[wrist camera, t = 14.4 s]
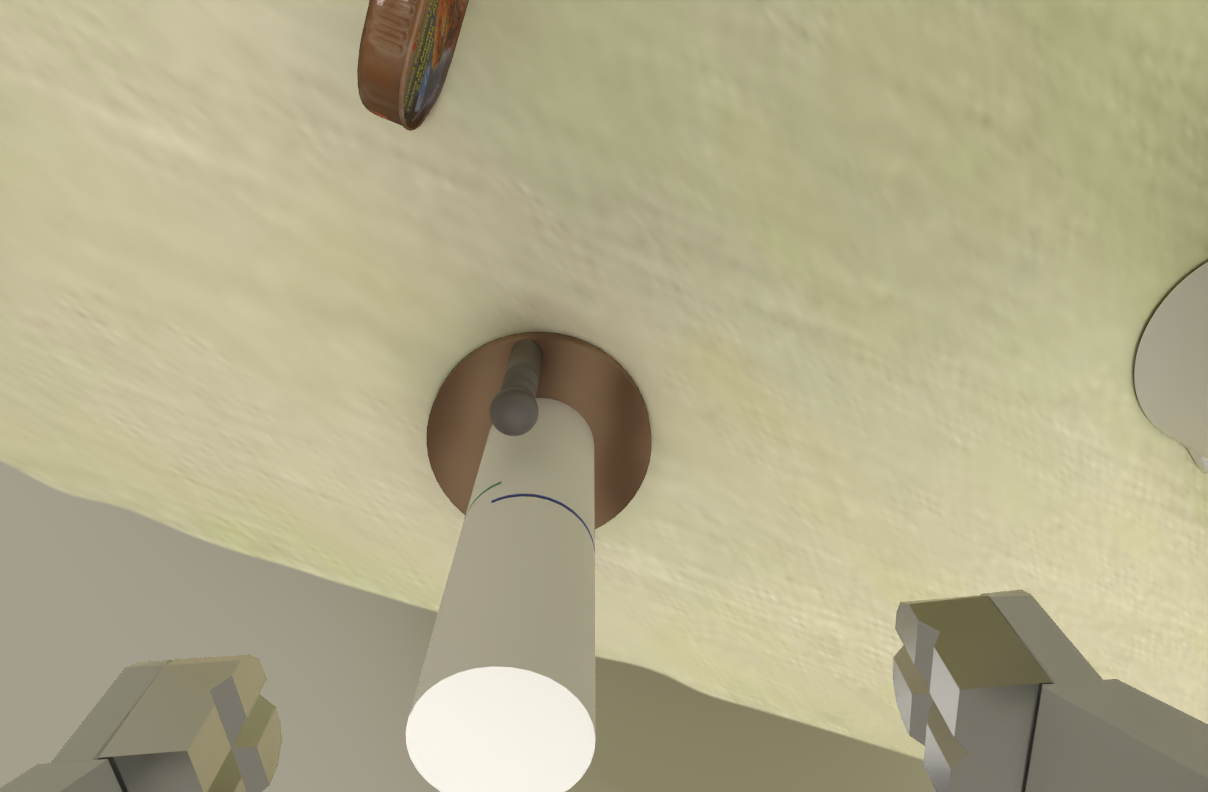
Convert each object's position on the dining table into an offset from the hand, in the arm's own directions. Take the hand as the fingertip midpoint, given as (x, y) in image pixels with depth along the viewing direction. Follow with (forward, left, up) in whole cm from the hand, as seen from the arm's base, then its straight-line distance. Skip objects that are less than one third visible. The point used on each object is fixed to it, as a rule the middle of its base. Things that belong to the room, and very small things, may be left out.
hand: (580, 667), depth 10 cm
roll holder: (+5, +16, -41) cm, 44 cm away
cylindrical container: (+5, +16, -40) cm, 43 cm away
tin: (+7, -12, -41) cm, 44 cm away
